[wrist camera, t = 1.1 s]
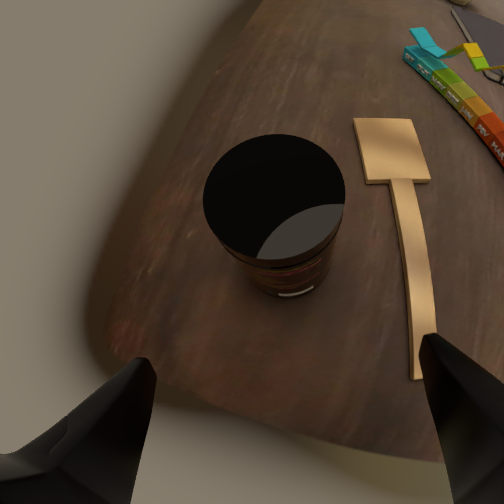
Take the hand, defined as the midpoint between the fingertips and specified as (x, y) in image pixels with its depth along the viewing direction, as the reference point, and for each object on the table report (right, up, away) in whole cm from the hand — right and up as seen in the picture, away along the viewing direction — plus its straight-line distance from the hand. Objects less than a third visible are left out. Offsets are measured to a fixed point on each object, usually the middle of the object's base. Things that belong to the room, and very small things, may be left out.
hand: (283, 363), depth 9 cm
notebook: (+38, +35, +19) cm, 55 cm away
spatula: (+12, +5, +14) cm, 19 cm away
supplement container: (+2, +3, +15) cm, 15 cm away
